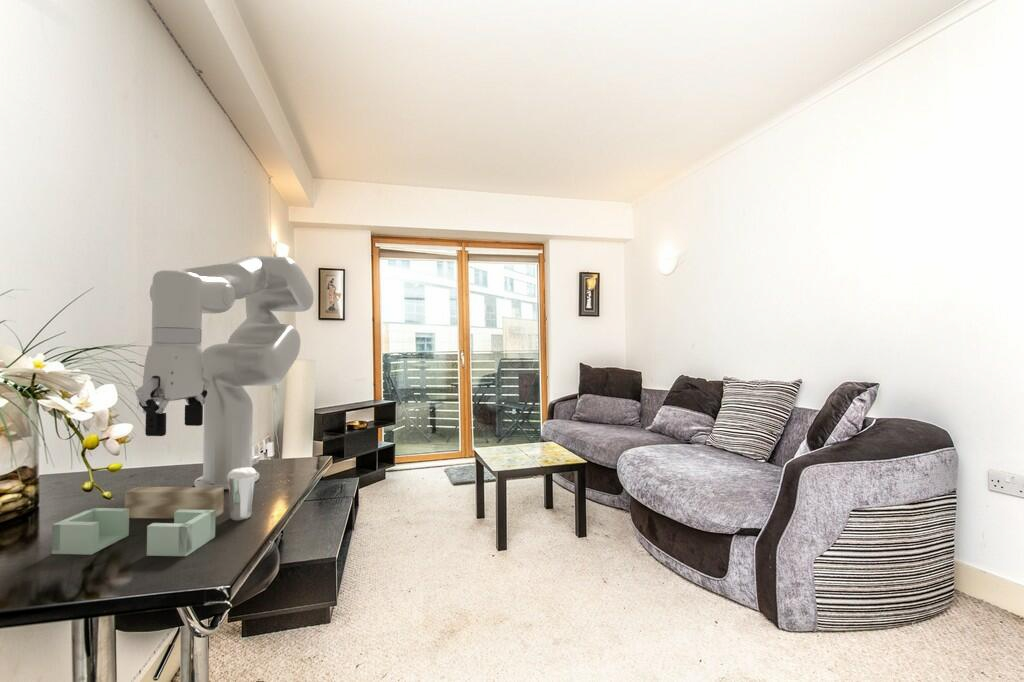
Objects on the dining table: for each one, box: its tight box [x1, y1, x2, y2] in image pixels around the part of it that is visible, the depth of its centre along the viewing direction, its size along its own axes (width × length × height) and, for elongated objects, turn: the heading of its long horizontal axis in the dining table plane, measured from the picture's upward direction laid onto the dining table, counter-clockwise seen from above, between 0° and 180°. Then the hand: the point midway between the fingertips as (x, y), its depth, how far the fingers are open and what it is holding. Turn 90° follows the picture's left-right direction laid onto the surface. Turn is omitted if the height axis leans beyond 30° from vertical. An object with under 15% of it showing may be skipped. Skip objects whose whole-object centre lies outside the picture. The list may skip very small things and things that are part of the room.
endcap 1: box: [51, 507, 130, 555], centre depth 74 cm, size 6×7×4 cm
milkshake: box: [227, 459, 257, 521], centre depth 87 cm, size 4×5×10 cm
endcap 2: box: [146, 509, 216, 557], centre depth 74 cm, size 6×7×4 cm
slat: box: [124, 486, 225, 519], centre depth 87 cm, size 16×3×5 cm, turn 91°
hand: (175, 430), depth 87 cm, fingers open, 9 cm apart
